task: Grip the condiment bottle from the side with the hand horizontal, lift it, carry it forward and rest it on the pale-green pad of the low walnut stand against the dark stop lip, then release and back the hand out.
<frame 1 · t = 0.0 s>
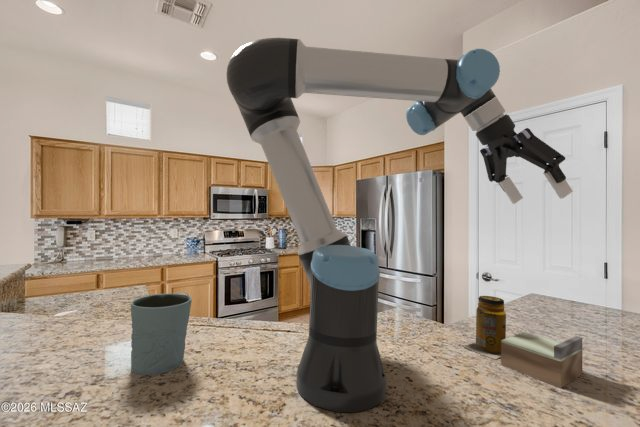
hand: (539, 198, 68), 36 cm above the countertop, tool tilted 35°, fingers open, 13 cm apart
grey textured cup: (158, 365, 54), on the countertop
stand: (540, 369, 59), on the countertop
condiment: (487, 350, 67), on the countertop
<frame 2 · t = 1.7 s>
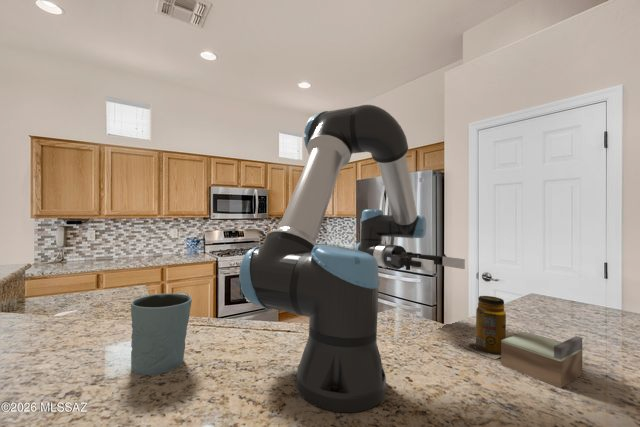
hand: (449, 265, 77), 18 cm above the countertop, tool horizontal, fingers open, 13 cm apart
nothing on the countertop moved.
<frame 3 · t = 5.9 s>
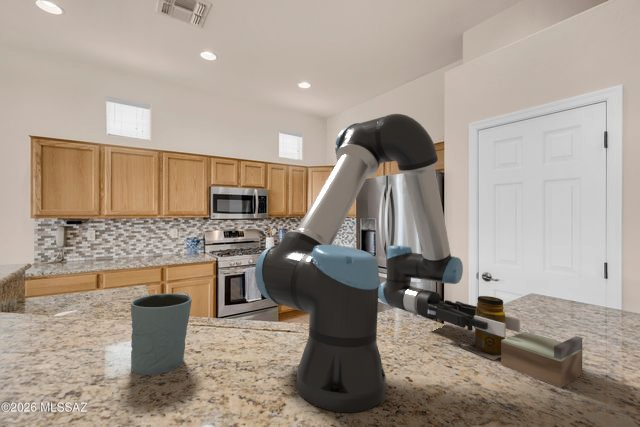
hand: (512, 328, 64), 7 cm above the countertop, tool horizontal, fingers closed on condiment, 6 cm apart
condiment: (486, 351, 67), on the countertop, touching gripper
everything else where it was.
when the fingers open (13 cm above the countertop, at t = 10.3 s): condiment drops 1 cm, resting on stand.
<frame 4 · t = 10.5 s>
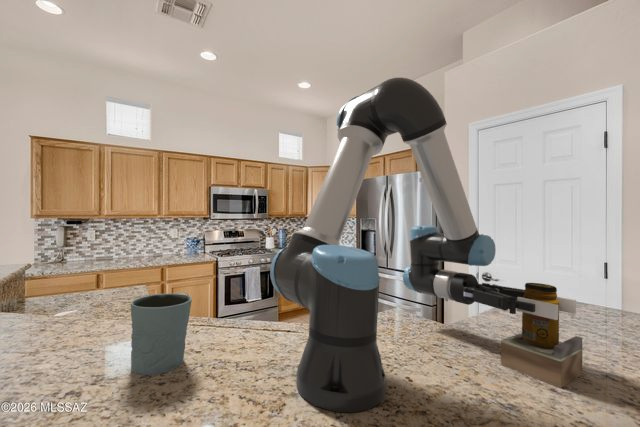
hand: (566, 309, 56), 13 cm above the countertop, tool horizontal, fingers open, 8 cm apart
condiment: (537, 345, 59), point 5 cm above the countertop, touching stand
everything else where it was.
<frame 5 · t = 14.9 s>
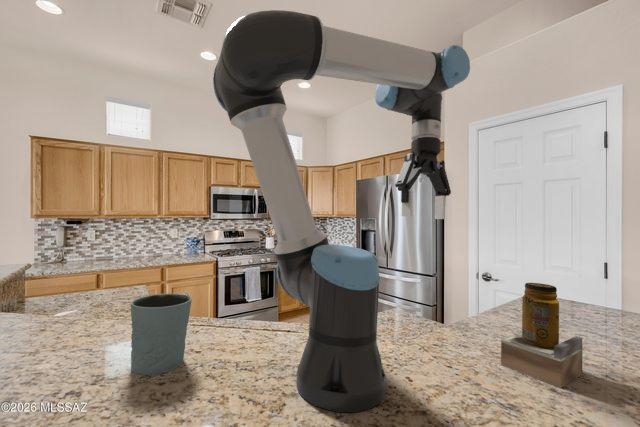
hand: (423, 217, 78), 31 cm above the countertop, tool pointing down, fingers open, 13 cm apart
nothing on the countertop moved.
at the end: condiment inside the target area on the stand (0.9 cm from its centre), point 4.8 cm above the stand's base; condiment tilted 0°; the gripper is holding nothing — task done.
